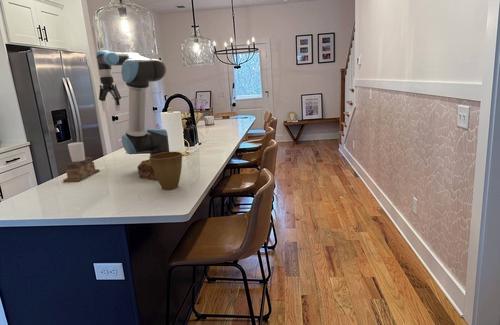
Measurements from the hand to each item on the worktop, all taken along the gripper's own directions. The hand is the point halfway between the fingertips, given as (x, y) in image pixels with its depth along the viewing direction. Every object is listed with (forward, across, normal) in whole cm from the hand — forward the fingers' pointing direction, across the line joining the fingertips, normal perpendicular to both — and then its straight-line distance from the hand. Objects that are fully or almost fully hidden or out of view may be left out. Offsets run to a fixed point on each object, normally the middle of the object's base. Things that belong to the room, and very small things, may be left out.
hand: (111, 110), depth 214 cm
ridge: (+35, -9, +31) cm, 47 cm away
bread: (+35, -54, +15) cm, 66 cm away
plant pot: (+35, -76, +26) cm, 88 cm away
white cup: (+25, -8, +31) cm, 41 cm away
